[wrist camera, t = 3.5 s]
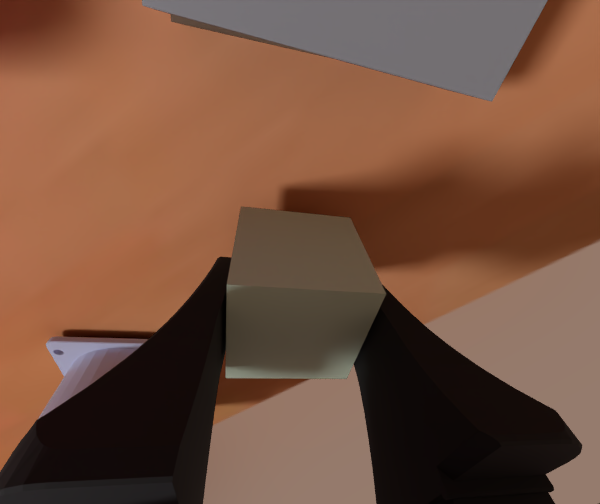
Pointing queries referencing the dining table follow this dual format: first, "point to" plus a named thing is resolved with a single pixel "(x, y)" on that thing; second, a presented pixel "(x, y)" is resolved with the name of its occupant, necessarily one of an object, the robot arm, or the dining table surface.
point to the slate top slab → (387, 34)
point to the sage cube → (298, 296)
